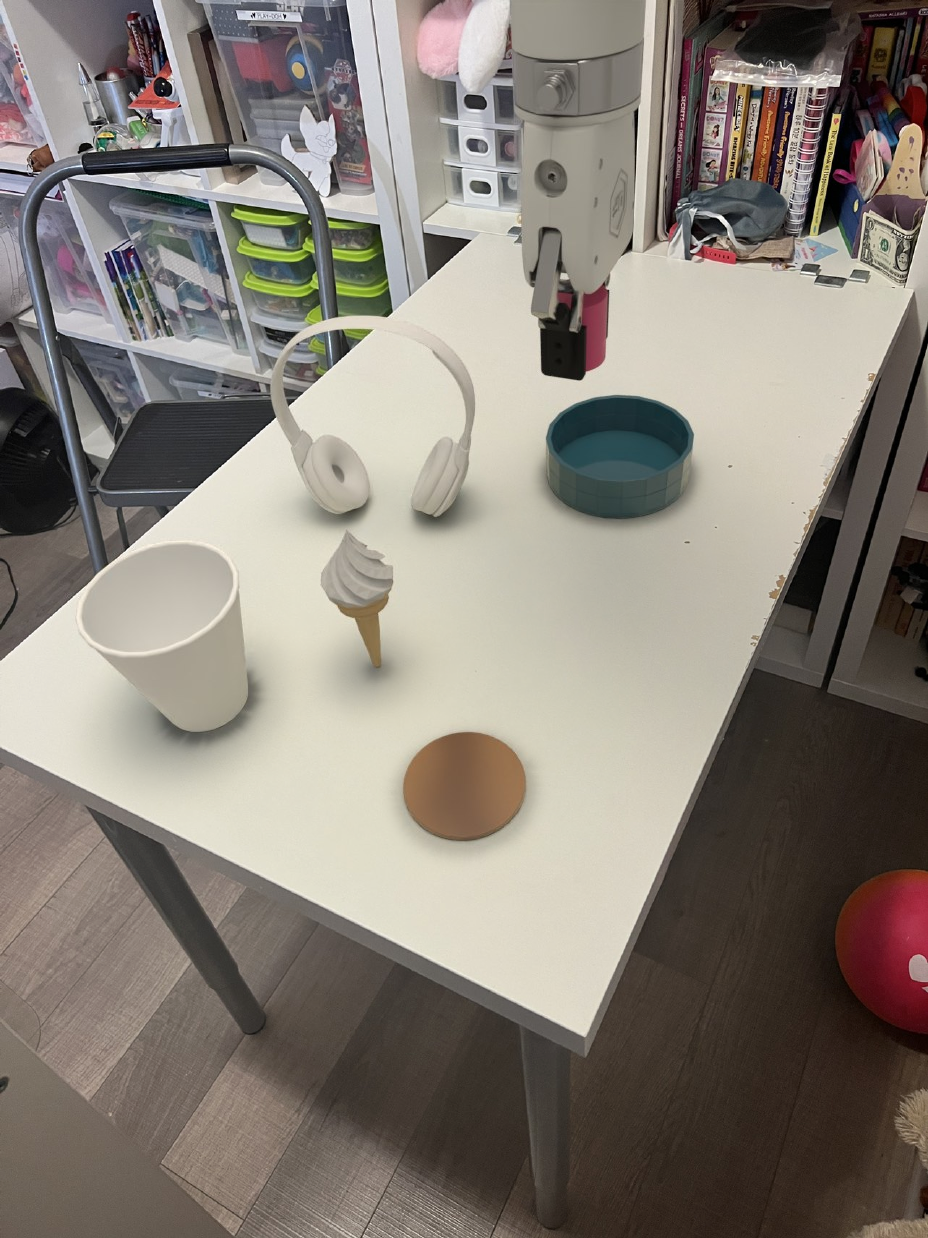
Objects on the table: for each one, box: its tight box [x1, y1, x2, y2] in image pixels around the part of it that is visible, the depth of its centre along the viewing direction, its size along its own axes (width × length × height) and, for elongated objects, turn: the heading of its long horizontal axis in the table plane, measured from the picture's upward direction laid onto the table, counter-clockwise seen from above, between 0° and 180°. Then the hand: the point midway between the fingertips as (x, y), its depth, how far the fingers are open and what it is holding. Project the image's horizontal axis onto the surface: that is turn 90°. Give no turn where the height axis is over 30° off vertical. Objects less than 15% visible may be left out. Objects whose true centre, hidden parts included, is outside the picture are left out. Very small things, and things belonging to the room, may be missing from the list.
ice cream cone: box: [320, 529, 394, 668], centre depth 69 cm, size 6×6×15 cm
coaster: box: [403, 731, 527, 841], centre depth 65 cm, size 9×9×1 cm
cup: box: [74, 539, 249, 733], centre depth 68 cm, size 12×12×12 cm
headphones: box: [269, 315, 476, 518], centre depth 81 cm, size 7×18×20 cm, turn 82°
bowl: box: [545, 394, 695, 519], centre depth 87 cm, size 14×14×4 cm
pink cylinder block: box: [557, 278, 608, 373], centre depth 63 cm, size 4×4×5 cm
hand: (575, 354), depth 65 cm, fingers closed on pink cylinder block, 4 cm apart
